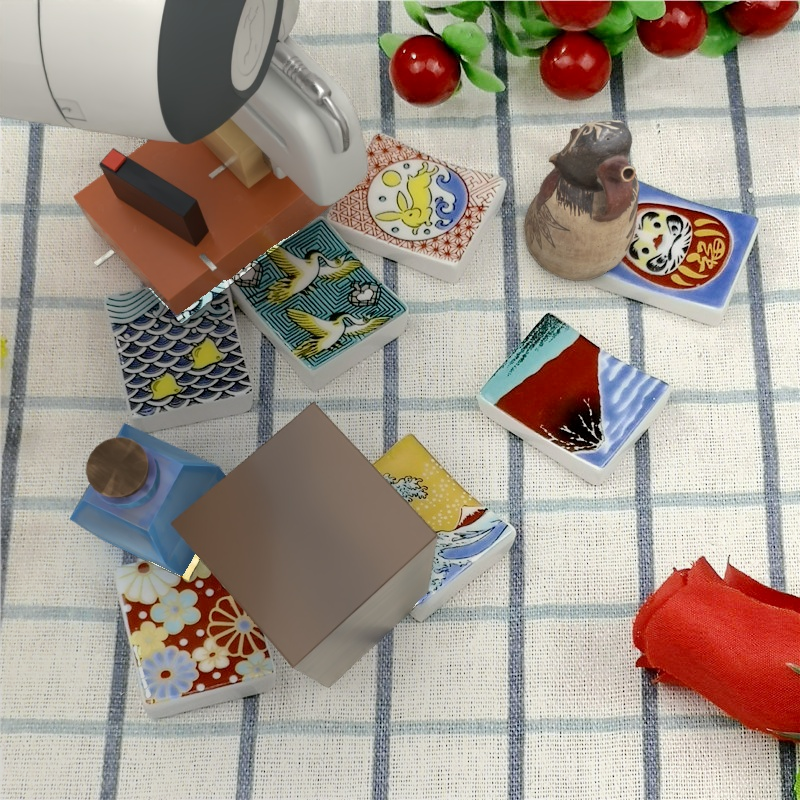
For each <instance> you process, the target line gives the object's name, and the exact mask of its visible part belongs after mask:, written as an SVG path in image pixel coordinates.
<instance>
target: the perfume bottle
mask: <svg viewBox="0 0 800 800" xmlns="http://www.w3.org/2000/svg"><path fill="white" fill-rule="evenodd" d="M85 464H86V465H85V466H86V467H85V468H86V469H85V474H86V477H87V481H88V486H86V489H85V491H84V492H83V494H82V496H81V498H80V499H79V501H78V503H77V504H76V506H75V508H74V510H73V511H72V514H71V515H70V516H69V521H71V522H73V523H75V524H77V526H79V527H81V528H83V530H86V531H87V532H89V533H90V534H92V535H94V536H95V537H96V538H98V539H100V540H102V541H104V542H106V543H108V544H110V545H112V546H114V547H116V548H118V549H120V550H123V551H124V552H127V553H129V554H131V555H133V556H135V557H138V558H139V559H141V560H144V561H145V562H147V561H150V562H153V563H155V564H157V565H159V566H161V567H163V568H165V569H167V570H169V571H171V572H173V573H176V574H178V575H180V576H183V574H184V573H185V571H186V569H187V568H188V566H189V564H190V563H191V561H192V559H193V557H194V555H195V552H194V551H193V550H192V549H191V548H190V547H189V545H188V544H187V543H186V542H185V541H184V539H183V538H182V537H181V536H180V535H179V534H178V532H177V531H176V530H175V529H174V528H173V527H172V525H171V522H172V521H173V520H174V519H175V518H177V517H178V516H179V515H180V514H181V513H183V512H184V511H185V510H186V509H187V508H188V507H190V506H191V505H192V504H193V503H194V502H196V501H197V500H198V499H199V498H200V497H201V496H203V495H204V494H205V493H206V492H207V491H209V490H210V489H211V488H212V487H213V486H214V485H216V484H217V483H218V482H219V481H220V480H222V479H223V478H224V477H225V476H226V474H225V473H224V471H223V469H221V467H220V466H219V465H217V464H214V463H213V462H211V461H208V460H206V459H203V458H202V457H200V456H197V455H195V454H193V453H191V452H188V451H186V450H184V449H182V448H180V447H178V446H176V445H173V444H171V443H169V442H167V441H165V440H163V439H160V438H159V437H156V436H154V435H152V434H149V433H147V432H145V431H144V430H142V429H141V430H140V429H138V428H136V427H134V426H133V425H130V424H128V423H126V422H124V423H123V424H122V426H121V427H120V430H119V431H118V433H117V435H116V436H115V437H111V438H109V439H106V440H103V441H102V442H100V443H99V444H98V445H96V446H95V447H94V449H93V450H92V451H91V452H90V453H89V456H88V457H87V461H86V463H85ZM150 562H149V563H150Z"/></svg>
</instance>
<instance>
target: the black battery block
mask: <svg viewBox="0 0 800 800" xmlns="http://www.w3.org/2000/svg"><path fill="white" fill-rule="evenodd" d="M127 156H128V155H125V154H124V153H122V152H120V151H119V150H117V149H116V148H112V149H111V150H110V151H109V152H108V153H107V154H106V155H105V156H104V157H103V158H102V160H101V161H100V162H99V163H98V165H99V168H100V169H101V171H102V172H103V173H102V174H104V175H105V177H106V178H107V180H108V182H109V184H110V186H111V188H112V190H113V191H114V193H115V195H116V197H117V198H119V199H120V200H122V201H123V202H125V203H127V204H128V205H130V206H131V207H133V208H134V209H136V210H138V211H139V212H141V213H142V214H144V215H146V216H147V217H149V218H150V219H152V220H154V221H155V222H157V223H158V224H160V225H161V226H163V227H165V228H166V229H168V230H169V231H171V232H173V233H174V234H176V235H177V236H179V237H181V238H182V239H184V240H185V241H187V242H188V243H190V244H192V245H193V246H195V247H197V245H198V244H199V243H200V242H201V241H202V239H203V238H204V237H205V236H206V234H207V233H208V232H209V230H208V227H207V224H206V222H205V219H204V217H203V214H202V212H201V209H200V207H199V204H198V201H197V200H196V199H195V198H193V197H191V196H190V195H188V194H187V193H185V192H183V191H182V190H180V189H178V188H177V187H175V186H174V185H172V184H170V183H169V182H167V181H166V180H164V179H162V178H161V177H159V176H157V175H156V174H154V173H153V172H151V171H149V170H148V169H146V168H145V167H143V166H141V165H140V164H138V163H136V162H135V161H133V160H132V159H130V158H128V157H127Z"/></svg>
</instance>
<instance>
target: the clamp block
mask: <svg viewBox="0 0 800 800" xmlns="http://www.w3.org/2000/svg"><path fill="white" fill-rule="evenodd" d="M126 156H127V157H128V158H130V159H132V160H133V161H135V162H136V163H138V164H140V165H141V166H143V167H145V168H146V169H148V170H149V171H151V172H153V173H154V174H156V175H157V176H159V177H161V178H162V179H164V180H166V181H167V182H169V183H170V184H172V185H174V186H175V187H177V188H178V189H180V190H182V191H183V192H185V193H187V194H188V195H190V196H191V197H193V198H195V199H196V200H197V201H198V204H199V207H200V209H201V212H202V214H203V217H204V219H205V222H206V224H207V227H208V230H209V232H208V233H207V234H206V236H205V237H204V238H203V239H202V241H201V242H200V243H199V244H198V245H197V247H195V246H193V245H192V244H190V243H188V242H187V241H185V240H184V239H182V238H181V237H179V236H177V235H176V234H174V233H173V232H171V231H169V230H168V229H166V228H165V227H163V226H161V225H160V224H158V223H157V222H155V221H154V220H152V219H150V218H149V217H147V216H146V215H144V214H142V213H141V212H139V211H138V210H136V209H134V208H133V207H131V206H130V205H128V204H127V203H125V202H123V201H122V200H120V199H119V198H117V197H116V195H115V193H114V191H113V190H112V188H111V186H110V184H109V182H108V180H107V178H106V177H105V175H104V173H102V175H100V176H99V177H97V178H95V179H94V180H93V181H91V183H89V184H88V185H86V186H85V187H83V188H82V189H81V190H79V191H78V192H77V193H76V194H74V195H73V199H74V201H75V202H76V204H77V206H78V208H79V209H80V210H81V212H82V215H84V217H85V219H86V220H87V222H88V223H89V225H90V226H91V228H92V229H94V231H95V232H96V233H97V235H99V237H100V238H101V239H102V240H103V241H104V242H105V243H106V244H107V245H108V246H109V248H111V249H109V250H108V251H107V252H105V253H104V254H102V255H101V257H99V258H97V260H94V262H93V263H94V265H95V266H96V267H97V268H99V267H100V266H101V265H103V264H104V263H106V262H107V261H108V260H109V259H111V258H112V257H113V256H115V255H117V256H118V257H119V259H120V260H121V261H122V262H123V263H124V264H125V265H126V266H127V267H128V268H129V270H130V271H131V272H132V273H133V274H134V275H135V276H136V277H137V278H138V279H139V281H140V282H142V284H143V285H144V286H145V287H146V288H147V287H148V288H151V289H152V290H153V291H154V293H155V294H156V295H157V296H158V297H159V298H160V299H161V300H162V301H163V302H164V303H165V304H166V305H167V306H168V308H169V309H170V310H171V311H172V312H173V313H174V314H175V315H179V314H180V313H181V312H182V311H184V310H185V309H187V308H188V307H190V306H191V305H192V304H193V303H194V302H196V301H198V300H199V299H200V298H201V297H202V296H204V295H206V294H207V293H208V292H209V291H211V290H212V289H213V288H214V287H217V286H218V285H219V284H220V283H221V282H222V281H223V280H226V281H227V280H229V279H231V278H232V277H233V276H234V275H235V274H236V273H238V272H239V271H240V270H241V269H242V268H243V267H244V268H245V267H246V266H247V265H248V264H249V263H251V262H252V261H253V260H255V259H257V258H258V257H259V256H260V255H263V254H264V253H265V252H266V251H267V250H268V249H270V248H271V247H273V246H274V245H276V244H278V243H279V242H280V241H282V240H283V239H286V238H288V237H289V236H291V235H292V234H294V233H295V232H297V231H298V230H300V229H301V230H303V229H304V228H306V226H308V225H309V224H310V223H311V222H313V221H315V219H316V218H318V217H319V216H320V215H322V214H323V213H324V212H325V211H327V210H328V209H329V208H330V207H331V206H333V205H334V204H332V205H330V206H319V205H317V204H315V203H314V202H313V201H312V200H311V199H310V198H309V197H308V196H307V195H306V194H305V193H304V192H303V191H302V190H301V189H300V188H299V187H298V186H297V185H296V184H295V183H294V182H293V181H292V180H291V179H290V178H289V177H288V176H286V177H284V178H282V179H279V178H277V177H276V175H275V174H274V173H273V172H272V171H271V172H270V173H268V174H267V175H266V176H265V177H263V178H262V179H261V180H259V181H258V182H257V183H255V184H254V185H253V186H252V187H250V188H247V187H246V186H245V185H244V184H243V183H242V182H241V181H240V180H239V179H238V178H237V177H236V176H235V175H234V174H233V173H232V171H231V170H230V169H229V168H228V167H227V166H226V165H225V164H224V163H223V162H222V161H221V160H220V159H219V158H218V157H217V156H216V155H215V154H214V153H213V152H212V151H211V150H210V149H209V148H208V147H207V146H206V145H205V144H204V143H203V142H202V141H201V140H198V141H196V142H194V143H191V144H182V143H179V142H164V141H155V140H147V141H146V142H144V143H143V144H141V146H139V147H138V148H137V149H135V150H133V151H132V152H131V153H130V154H128V155H126ZM308 223H309V224H308ZM307 224H308V225H307ZM303 227H304V228H303ZM302 228H303V229H302ZM301 230H300V231H301ZM297 233H298V232H297ZM148 288H147V289H148Z"/></svg>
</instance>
